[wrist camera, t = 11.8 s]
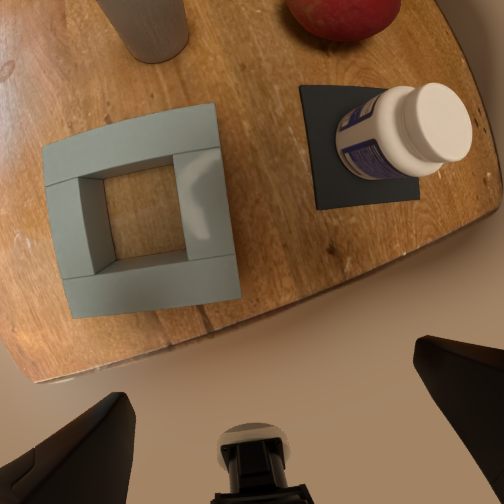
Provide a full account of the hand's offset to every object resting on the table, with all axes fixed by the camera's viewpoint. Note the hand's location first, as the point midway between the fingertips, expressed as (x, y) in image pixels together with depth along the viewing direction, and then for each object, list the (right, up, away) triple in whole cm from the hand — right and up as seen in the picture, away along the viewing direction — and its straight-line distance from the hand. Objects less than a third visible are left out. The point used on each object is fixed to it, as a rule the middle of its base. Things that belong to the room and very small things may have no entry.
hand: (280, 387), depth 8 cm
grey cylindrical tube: (-8, +19, +9) cm, 23 cm away
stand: (-8, +6, +11) cm, 15 cm away
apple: (+5, +22, +10) cm, 25 cm away
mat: (+7, +12, +12) cm, 18 cm away
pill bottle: (+7, +12, +12) cm, 18 cm away
